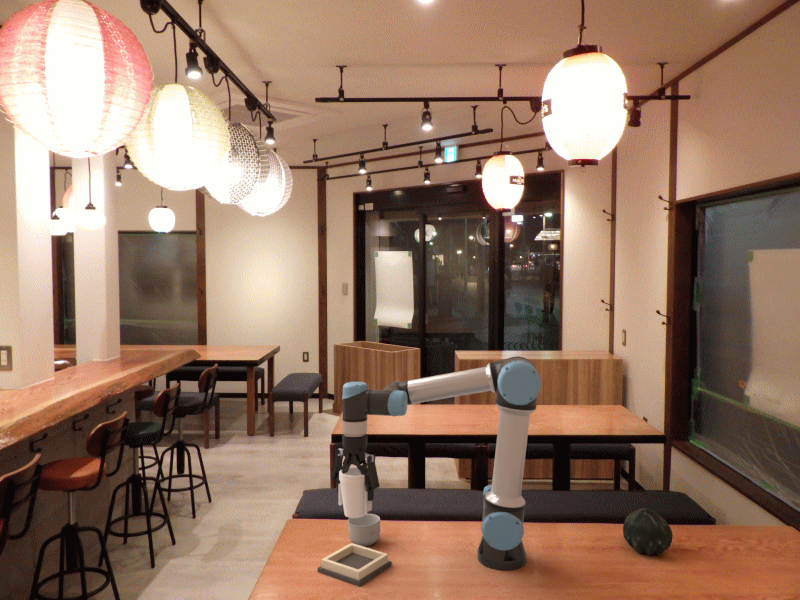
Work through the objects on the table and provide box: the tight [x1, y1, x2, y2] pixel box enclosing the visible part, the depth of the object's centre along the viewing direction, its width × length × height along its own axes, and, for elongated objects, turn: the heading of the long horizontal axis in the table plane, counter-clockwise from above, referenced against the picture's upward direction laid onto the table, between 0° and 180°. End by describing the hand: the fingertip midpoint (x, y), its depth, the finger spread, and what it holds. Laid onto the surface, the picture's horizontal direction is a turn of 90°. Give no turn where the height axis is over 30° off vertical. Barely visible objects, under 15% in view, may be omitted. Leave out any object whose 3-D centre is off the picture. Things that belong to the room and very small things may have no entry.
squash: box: [622, 507, 674, 556], centre depth 202 cm, size 14×15×15 cm
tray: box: [317, 542, 393, 587], centre depth 189 cm, size 16×16×4 cm
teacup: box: [347, 511, 381, 547], centre depth 209 cm, size 14×11×8 cm
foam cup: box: [339, 466, 366, 519], centre depth 188 cm, size 10×9×13 cm
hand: (354, 507), depth 188 cm, fingers closed on foam cup, 9 cm apart
